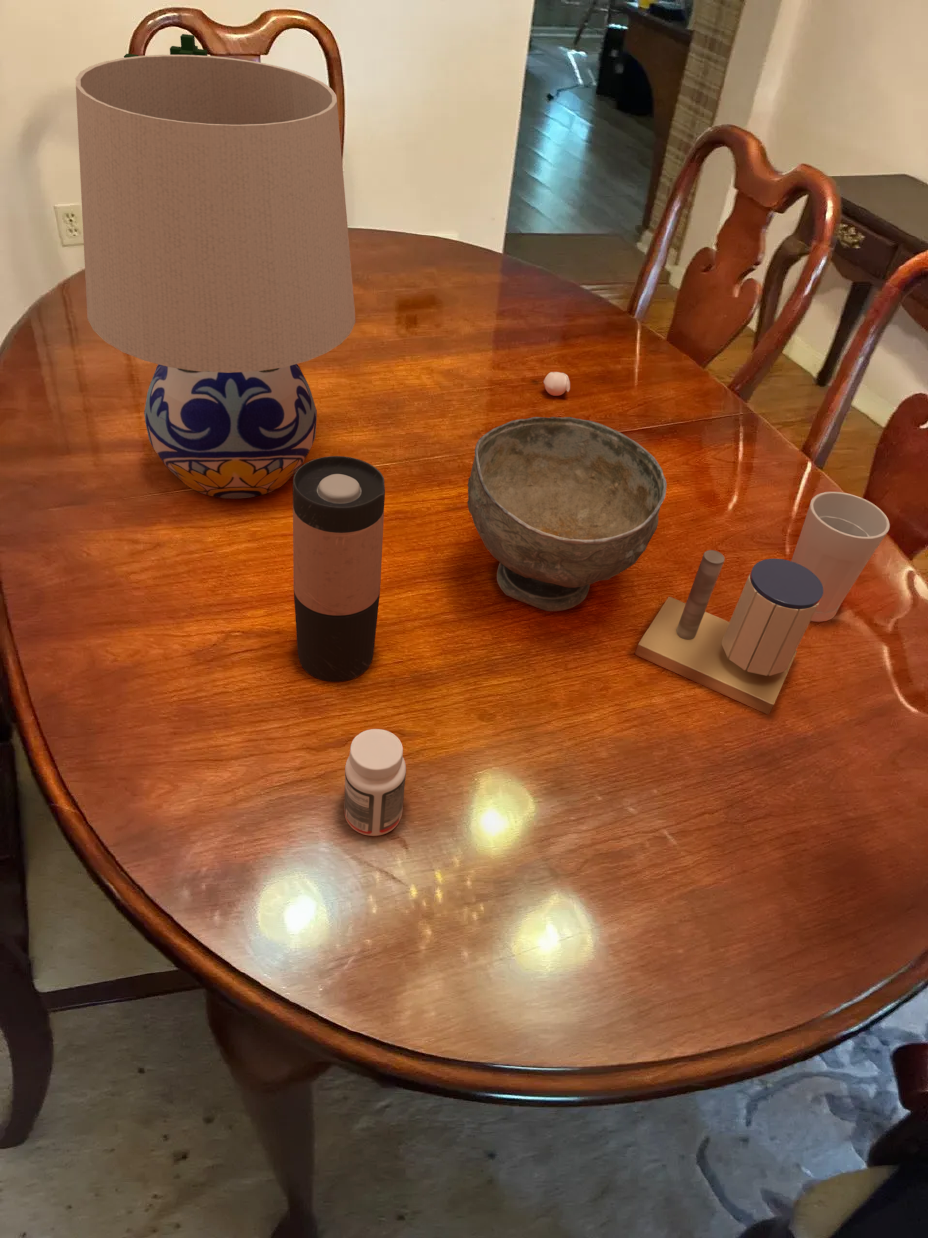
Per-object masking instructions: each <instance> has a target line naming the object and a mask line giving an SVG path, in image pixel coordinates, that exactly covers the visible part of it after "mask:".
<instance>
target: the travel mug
mask: <svg viewBox="0 0 928 1238" xmlns="http://www.w3.org/2000/svg"><path fill="white" fill-rule="evenodd" d="M385 485H386V484H385V477H384V474H382V472H381V471H380V470H379V469H378V468H376V467H375V466H374V465H373V464H371V463H369V462H367V461H365V460H363V459H359V458H355V457H351V456H343V455H342V456H341V455H331V456H330V455H329V456H322V457H317V458H315V459H312V460H308V461H307V462H305V463H303V464H301V466H300V467H299V468H298V469H297V471H296V472H295V473H294V474H293V479H292V558H293V560H292V561H293V565H292V566H293V567H292V570H293V574H292V575H293V577H292V579H293V598H294V599H293V601H294V617H295V634H296V648H297V656H298V657H297V658H298V661H299V664H300V666H301V667H302V669H303V670H304V672H306V673H307V674H308V675H310V676H311V677H313V678H315V679H318V680H321V681H324V682H331V683H340V682H342V683H343V682H346V681H351V680H354V679H356V678H359V677H360V676H361V675H362V674H364V673H365V672H366V671H368V669H369V668H370V666H371V665H372V663H373V662H372V661H373V659H374V652H375V645H376V644H375V643H376V633H377V624H378V615H379V605H380V595H381V581H382V562H383V561H382V559H383V540H384V522H385V521H384V519H385V498H386V486H385Z"/></svg>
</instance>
